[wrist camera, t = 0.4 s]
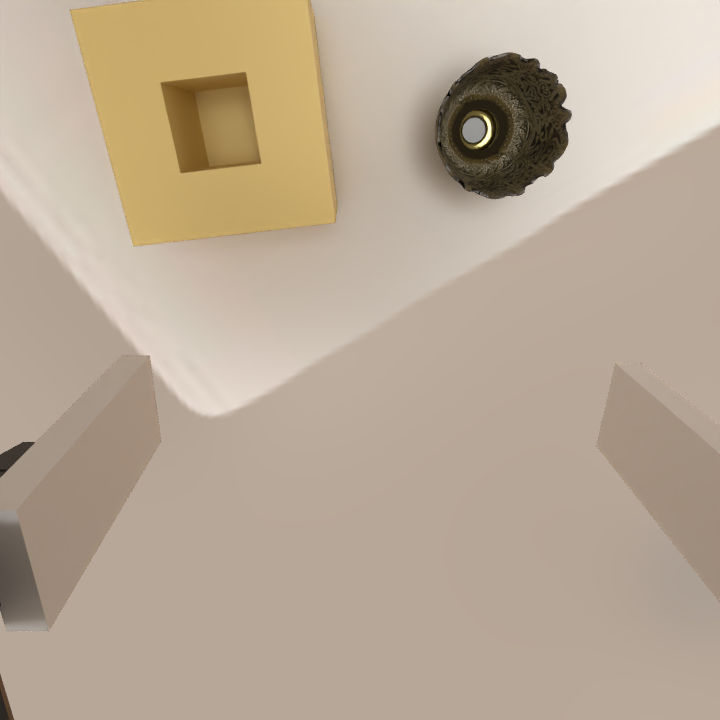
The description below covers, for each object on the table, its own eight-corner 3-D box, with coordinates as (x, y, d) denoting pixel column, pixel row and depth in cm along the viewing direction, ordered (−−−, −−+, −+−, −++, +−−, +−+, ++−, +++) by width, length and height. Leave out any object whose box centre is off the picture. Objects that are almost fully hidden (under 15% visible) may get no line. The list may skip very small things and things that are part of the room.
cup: (494, 44, 36) (532, 20, 28) (546, 143, 38) (595, 145, 31) (399, 116, 37) (412, 111, 30) (455, 207, 39) (480, 223, 32)
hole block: (128, 36, 35) (69, 9, 27) (313, 13, 35) (304, -20, 27) (173, 225, 39) (133, 246, 32) (337, 206, 39) (335, 222, 32)
